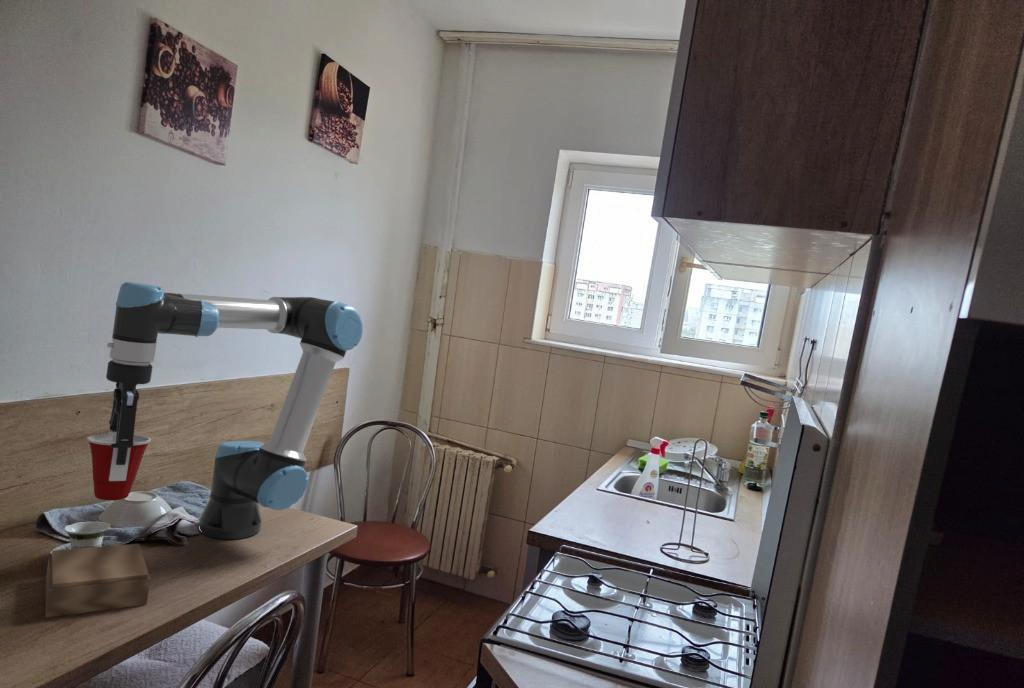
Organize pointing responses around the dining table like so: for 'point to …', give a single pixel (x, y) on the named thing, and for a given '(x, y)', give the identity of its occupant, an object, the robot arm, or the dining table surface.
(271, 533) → the dining table surface
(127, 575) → the brown flat block
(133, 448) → the plastic cup
